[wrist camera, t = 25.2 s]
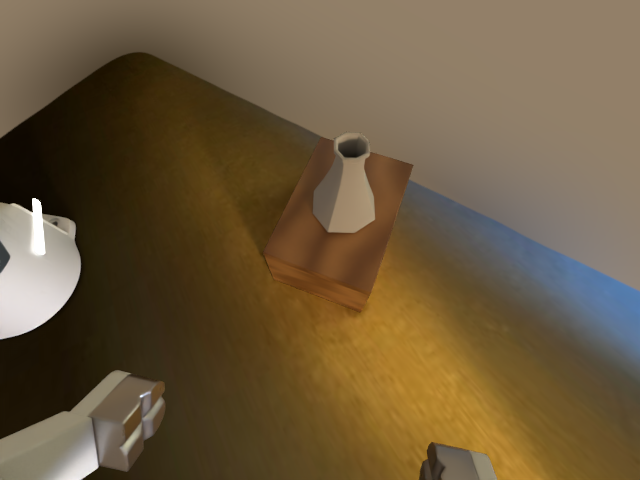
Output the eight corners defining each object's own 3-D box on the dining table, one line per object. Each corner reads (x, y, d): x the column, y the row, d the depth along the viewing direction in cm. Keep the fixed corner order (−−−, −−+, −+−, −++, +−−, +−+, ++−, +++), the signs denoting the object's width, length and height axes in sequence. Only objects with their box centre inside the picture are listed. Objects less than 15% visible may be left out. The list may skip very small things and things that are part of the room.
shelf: (273, 279, 42) (262, 252, 34) (320, 179, 49) (320, 136, 41) (360, 312, 41) (371, 292, 32) (397, 203, 47) (413, 164, 39)
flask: (304, 188, 38) (299, 123, 29) (362, 173, 38) (376, 106, 29) (322, 242, 35) (323, 190, 26) (385, 225, 36) (408, 168, 27)
